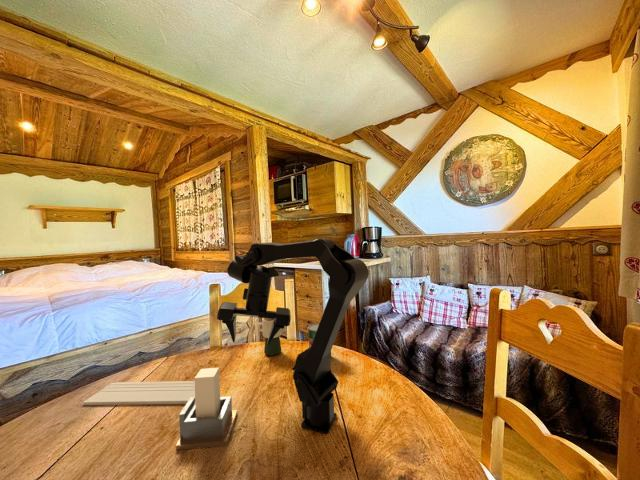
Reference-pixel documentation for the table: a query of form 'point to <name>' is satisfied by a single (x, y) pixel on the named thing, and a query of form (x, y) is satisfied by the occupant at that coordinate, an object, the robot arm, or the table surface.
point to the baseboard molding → (144, 393)
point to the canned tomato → (313, 333)
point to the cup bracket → (205, 426)
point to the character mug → (275, 343)
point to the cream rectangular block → (207, 393)
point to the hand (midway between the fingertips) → (251, 342)
